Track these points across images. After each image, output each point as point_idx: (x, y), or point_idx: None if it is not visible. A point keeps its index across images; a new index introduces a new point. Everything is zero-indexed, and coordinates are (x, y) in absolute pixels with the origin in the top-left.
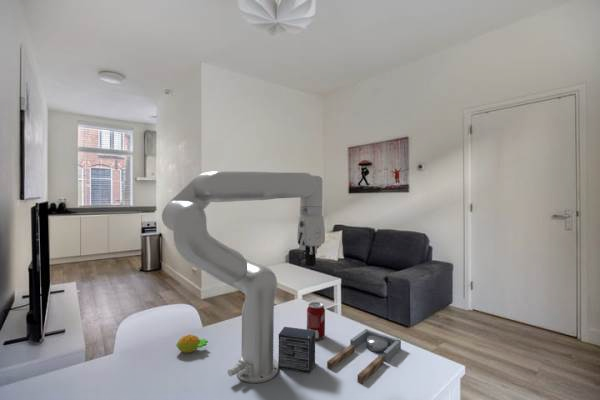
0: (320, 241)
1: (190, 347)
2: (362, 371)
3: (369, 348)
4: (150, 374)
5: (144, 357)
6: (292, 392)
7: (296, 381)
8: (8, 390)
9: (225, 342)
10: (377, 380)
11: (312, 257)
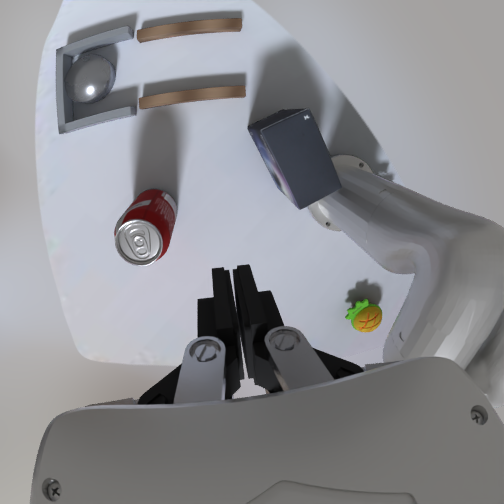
0: (164, 446)
1: (376, 305)
2: (223, 26)
3: (112, 81)
4: None
5: None
6: (345, 103)
7: (320, 115)
8: None
9: (312, 305)
10: (207, 10)
11: (262, 306)
